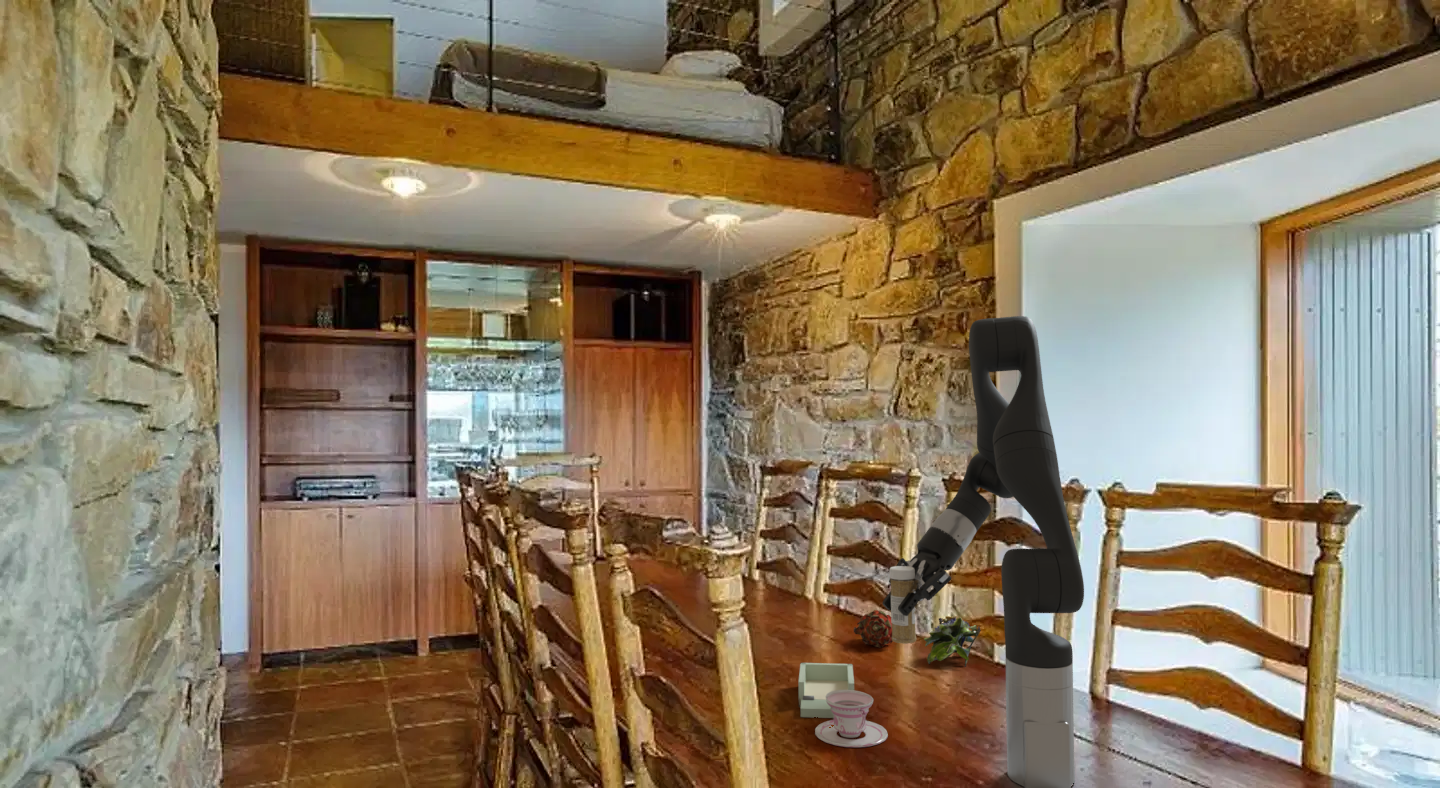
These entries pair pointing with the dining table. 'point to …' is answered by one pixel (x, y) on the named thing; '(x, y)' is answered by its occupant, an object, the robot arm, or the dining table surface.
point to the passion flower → (951, 639)
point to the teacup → (850, 720)
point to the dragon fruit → (875, 629)
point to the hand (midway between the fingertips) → (894, 609)
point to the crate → (822, 686)
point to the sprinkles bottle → (899, 589)
